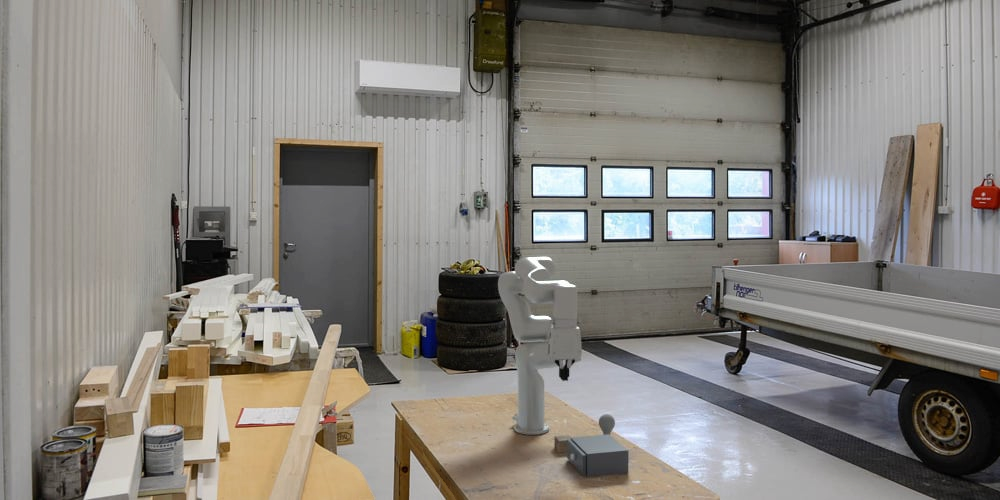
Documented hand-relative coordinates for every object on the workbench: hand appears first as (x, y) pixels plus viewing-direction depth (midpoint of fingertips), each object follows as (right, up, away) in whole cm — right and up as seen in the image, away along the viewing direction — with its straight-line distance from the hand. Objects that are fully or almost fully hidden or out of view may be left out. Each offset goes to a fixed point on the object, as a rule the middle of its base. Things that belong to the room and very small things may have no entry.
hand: (564, 379), depth 206 cm
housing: (+10, -25, -8) cm, 28 cm away
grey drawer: (+8, -24, -8) cm, 27 cm away
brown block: (+1, -25, +7) cm, 25 cm away
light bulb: (+16, -24, +12) cm, 32 cm away
